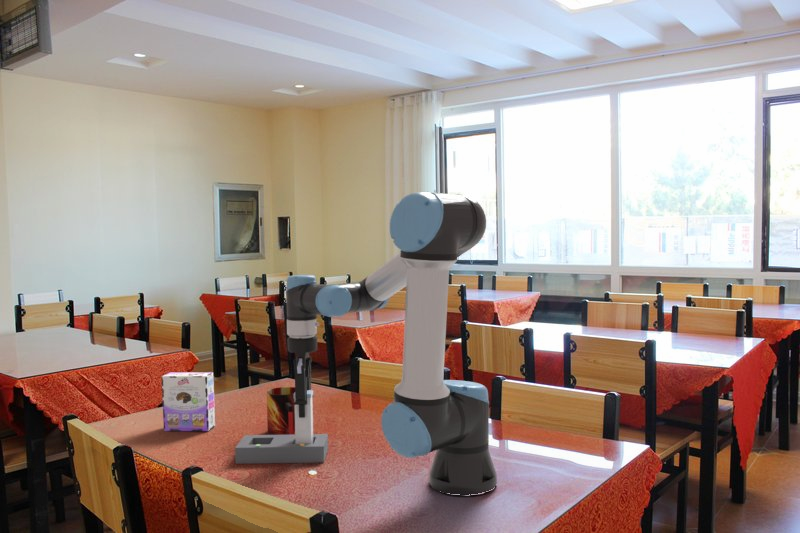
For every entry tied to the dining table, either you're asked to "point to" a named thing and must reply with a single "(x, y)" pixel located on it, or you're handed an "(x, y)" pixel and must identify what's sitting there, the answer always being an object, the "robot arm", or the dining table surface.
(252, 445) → the panel
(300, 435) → the plug
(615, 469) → the dining table surface
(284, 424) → the mug
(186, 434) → the dining table surface
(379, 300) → the robot arm
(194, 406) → the candy box
